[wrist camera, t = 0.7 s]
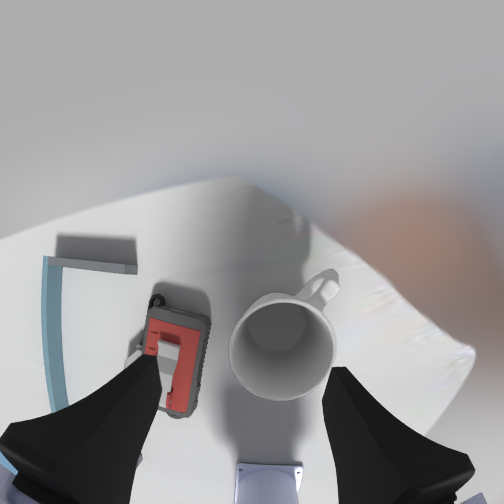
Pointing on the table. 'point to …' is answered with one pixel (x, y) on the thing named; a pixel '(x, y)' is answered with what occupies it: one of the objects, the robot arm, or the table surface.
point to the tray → (53, 320)
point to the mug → (286, 341)
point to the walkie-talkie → (175, 354)
